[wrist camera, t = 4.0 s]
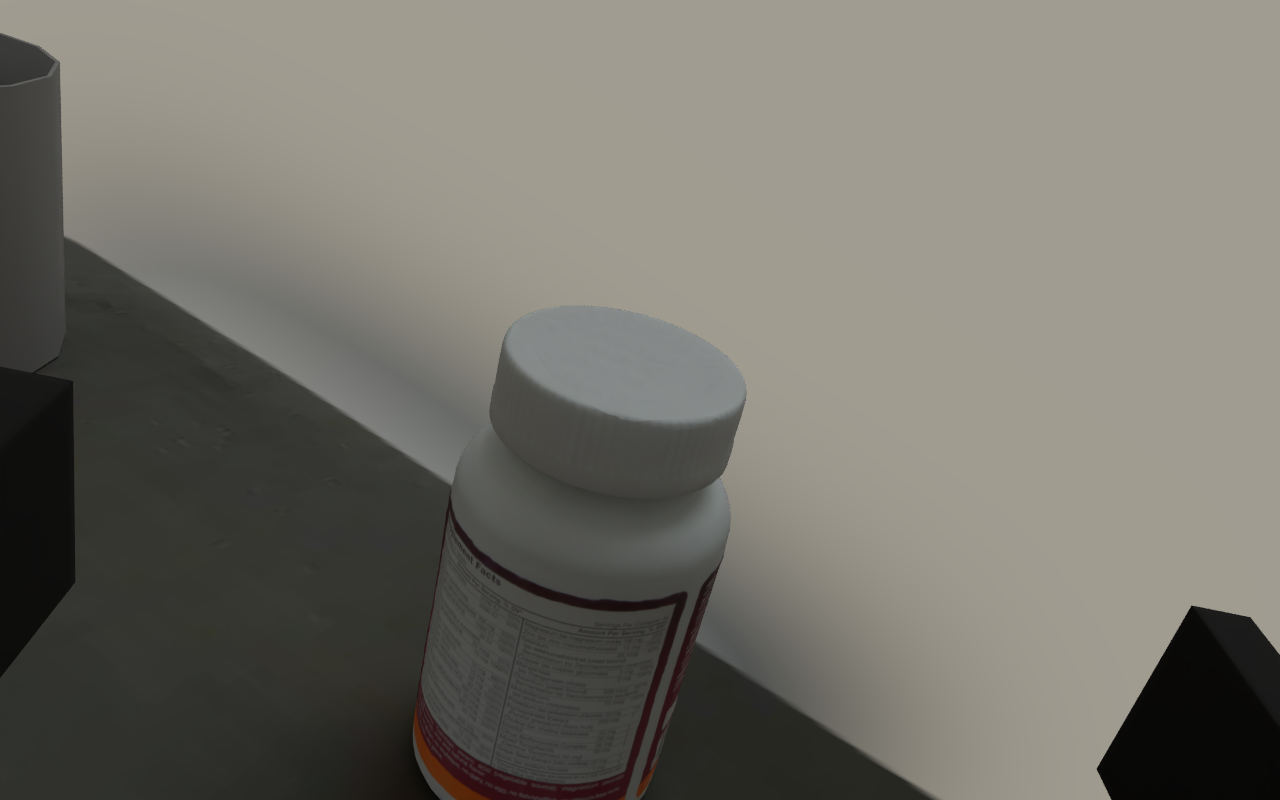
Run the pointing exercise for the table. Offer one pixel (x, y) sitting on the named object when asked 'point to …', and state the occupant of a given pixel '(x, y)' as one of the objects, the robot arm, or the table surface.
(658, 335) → the pill bottle
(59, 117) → the cup
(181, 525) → the table surface
